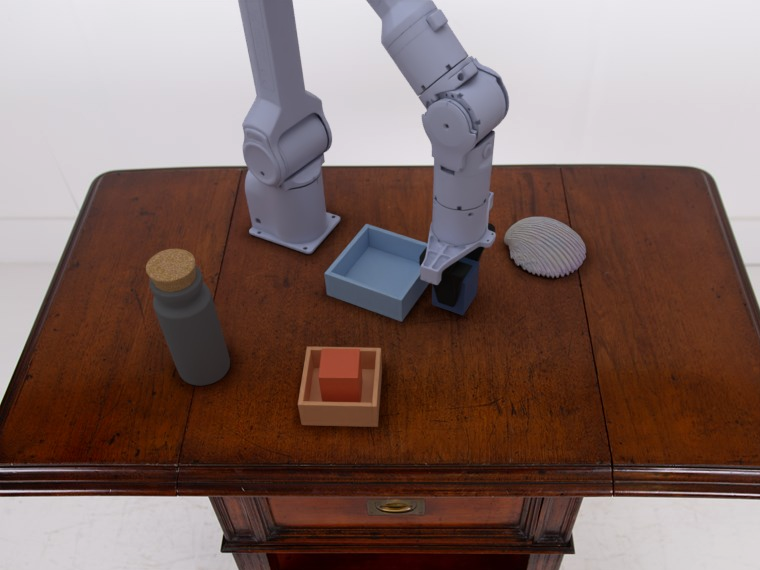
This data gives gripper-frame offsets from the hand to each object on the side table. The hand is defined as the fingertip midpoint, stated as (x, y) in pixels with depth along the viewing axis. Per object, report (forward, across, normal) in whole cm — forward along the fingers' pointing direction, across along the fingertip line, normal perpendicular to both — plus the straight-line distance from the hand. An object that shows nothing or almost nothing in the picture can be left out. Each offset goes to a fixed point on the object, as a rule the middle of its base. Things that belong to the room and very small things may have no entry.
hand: (454, 290), depth 88 cm
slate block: (+1, 0, 0) cm, 1 cm away
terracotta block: (+2, -18, +5) cm, 19 cm away
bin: (+2, 0, +9) cm, 10 cm away
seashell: (+3, +14, -6) cm, 15 cm away
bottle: (+3, -21, +21) cm, 30 cm away
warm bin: (+2, -18, +5) cm, 19 cm away
